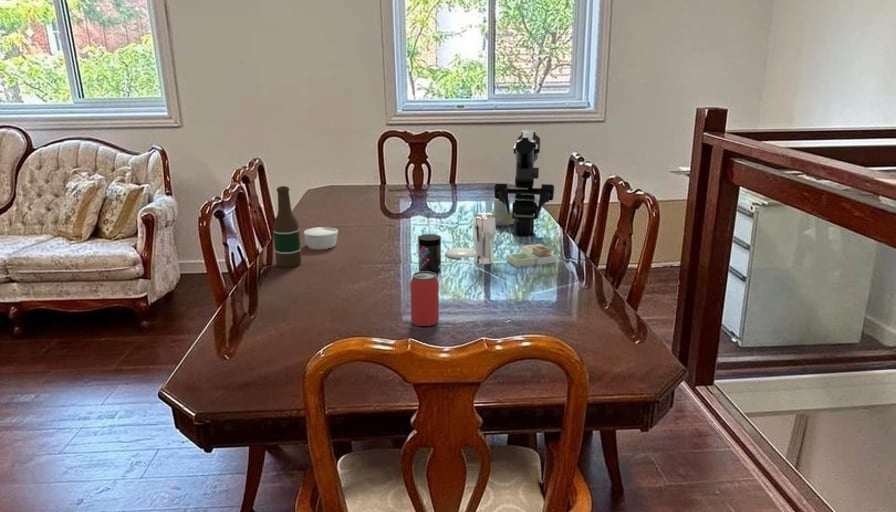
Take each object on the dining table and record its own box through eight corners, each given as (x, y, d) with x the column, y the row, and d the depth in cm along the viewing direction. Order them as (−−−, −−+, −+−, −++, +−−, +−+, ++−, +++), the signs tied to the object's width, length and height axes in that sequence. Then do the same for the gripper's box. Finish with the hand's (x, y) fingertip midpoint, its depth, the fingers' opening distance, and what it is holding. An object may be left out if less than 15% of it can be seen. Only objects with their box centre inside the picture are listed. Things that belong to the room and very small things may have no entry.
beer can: (410, 317, 149) (409, 270, 145) (437, 316, 149) (437, 269, 146) (411, 328, 142) (410, 280, 139) (439, 327, 143) (439, 279, 139)
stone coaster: (469, 248, 203) (469, 246, 203) (481, 256, 195) (481, 255, 194) (441, 251, 200) (441, 250, 200) (452, 260, 191) (452, 258, 191)
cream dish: (539, 251, 200) (539, 243, 200) (549, 256, 195) (550, 249, 194) (522, 253, 198) (522, 245, 197) (531, 258, 193) (532, 251, 192)
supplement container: (419, 266, 185) (419, 233, 182) (442, 267, 185) (442, 234, 182) (417, 274, 179) (416, 240, 176) (440, 274, 178) (440, 240, 175)
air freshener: (499, 229, 227) (499, 202, 224) (483, 224, 233) (483, 199, 230) (519, 224, 234) (519, 198, 231) (503, 220, 240) (504, 195, 237)
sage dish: (524, 259, 192) (525, 252, 191) (534, 265, 186) (535, 258, 185) (506, 262, 189) (506, 254, 189) (516, 268, 184) (516, 260, 183)
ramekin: (345, 243, 209) (344, 228, 208) (325, 252, 200) (324, 237, 198) (318, 239, 214) (317, 225, 212) (298, 248, 204) (296, 233, 202)
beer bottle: (307, 261, 190) (301, 185, 183) (293, 269, 183) (286, 190, 176) (285, 259, 193) (279, 183, 185) (270, 266, 186) (263, 188, 178)
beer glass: (493, 267, 185) (494, 218, 181) (470, 265, 186) (471, 217, 182) (496, 260, 192) (497, 213, 187) (474, 258, 193) (474, 212, 188)
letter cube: (542, 257, 192) (542, 245, 191) (550, 261, 189) (551, 248, 188) (532, 259, 190) (532, 247, 189) (540, 263, 187) (541, 250, 186)
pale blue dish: (545, 257, 194) (545, 250, 193) (555, 263, 188) (556, 256, 187) (527, 260, 191) (527, 252, 191) (537, 266, 186) (537, 258, 185)
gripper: (495, 157, 192) (492, 199, 185) (555, 158, 190) (555, 200, 183) (495, 178, 202) (493, 218, 195) (553, 179, 200) (552, 220, 193)
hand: (523, 214), depth 191 cm, fingers open, 9 cm apart
